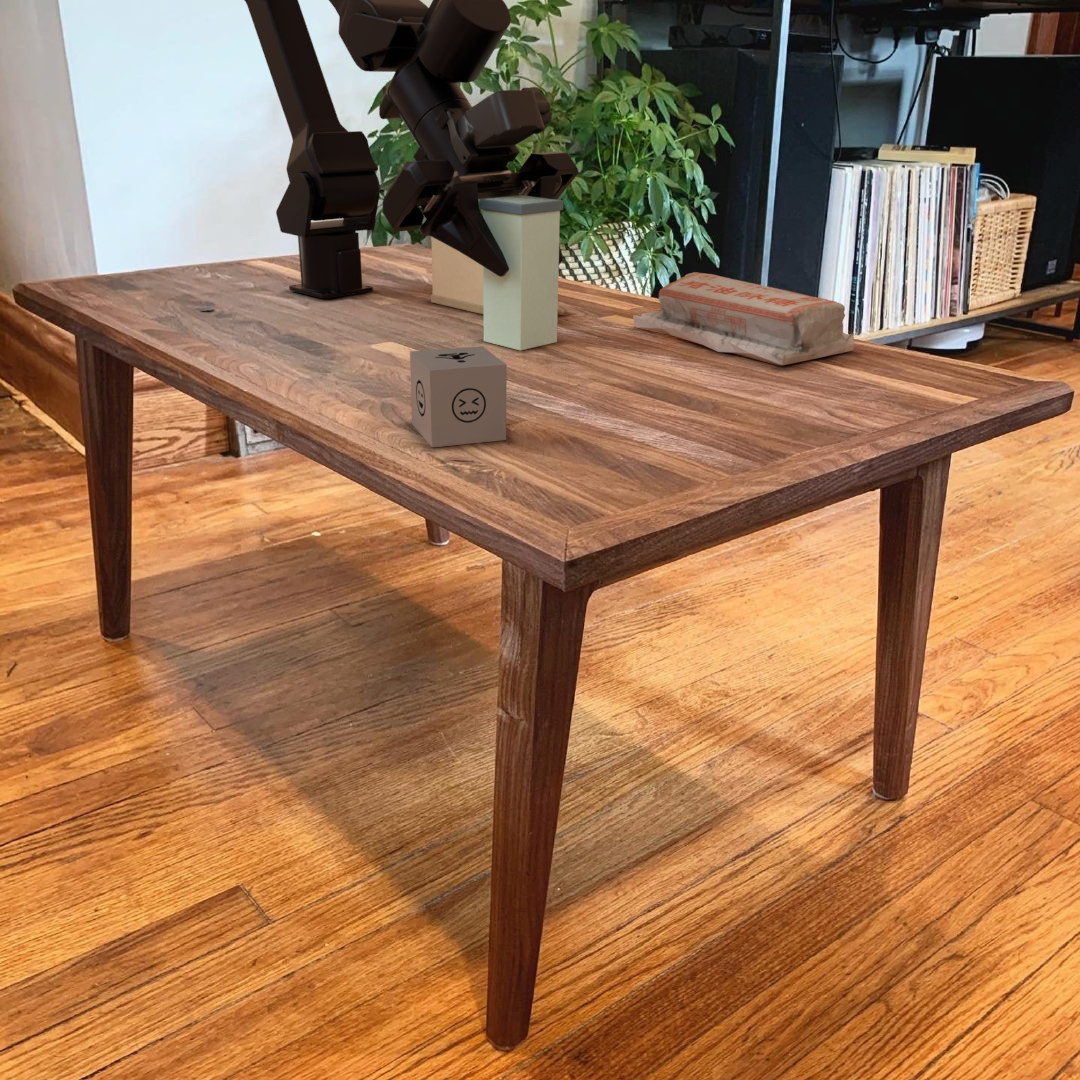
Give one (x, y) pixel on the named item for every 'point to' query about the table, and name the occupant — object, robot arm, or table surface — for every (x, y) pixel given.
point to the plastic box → (523, 271)
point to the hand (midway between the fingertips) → (532, 268)
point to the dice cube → (458, 396)
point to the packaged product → (749, 319)
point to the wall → (456, 279)
